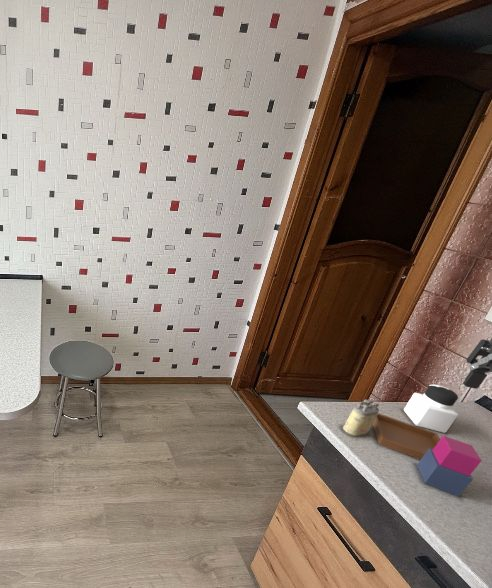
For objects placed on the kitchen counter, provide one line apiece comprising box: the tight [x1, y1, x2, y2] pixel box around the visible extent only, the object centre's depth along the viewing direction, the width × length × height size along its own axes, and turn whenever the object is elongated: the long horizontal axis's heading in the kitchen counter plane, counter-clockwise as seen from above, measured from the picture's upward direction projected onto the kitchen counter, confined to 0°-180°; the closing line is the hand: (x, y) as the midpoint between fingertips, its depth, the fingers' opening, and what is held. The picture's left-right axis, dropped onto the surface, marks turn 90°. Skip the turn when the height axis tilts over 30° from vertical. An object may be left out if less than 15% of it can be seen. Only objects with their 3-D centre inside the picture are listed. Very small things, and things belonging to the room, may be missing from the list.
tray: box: [372, 412, 441, 461], centre depth 90 cm, size 14×12×2 cm
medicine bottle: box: [403, 383, 459, 434], centre depth 96 cm, size 7×7×12 cm
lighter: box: [342, 399, 380, 437], centre depth 91 cm, size 7×4×10 cm, turn 105°
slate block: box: [416, 448, 474, 497], centre depth 79 cm, size 6×6×6 cm
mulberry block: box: [432, 435, 483, 476], centre depth 76 cm, size 5×5×5 cm
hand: (483, 398), depth 67 cm, fingers open, 8 cm apart
